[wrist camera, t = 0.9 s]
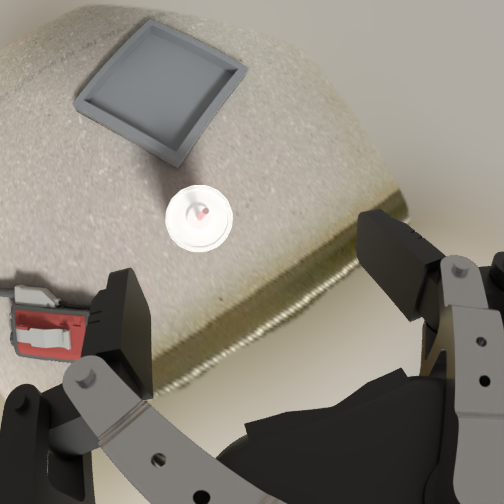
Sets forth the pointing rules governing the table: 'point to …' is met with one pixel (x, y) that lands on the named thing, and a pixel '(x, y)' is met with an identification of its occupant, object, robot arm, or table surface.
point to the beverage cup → (199, 218)
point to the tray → (161, 90)
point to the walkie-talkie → (45, 324)
